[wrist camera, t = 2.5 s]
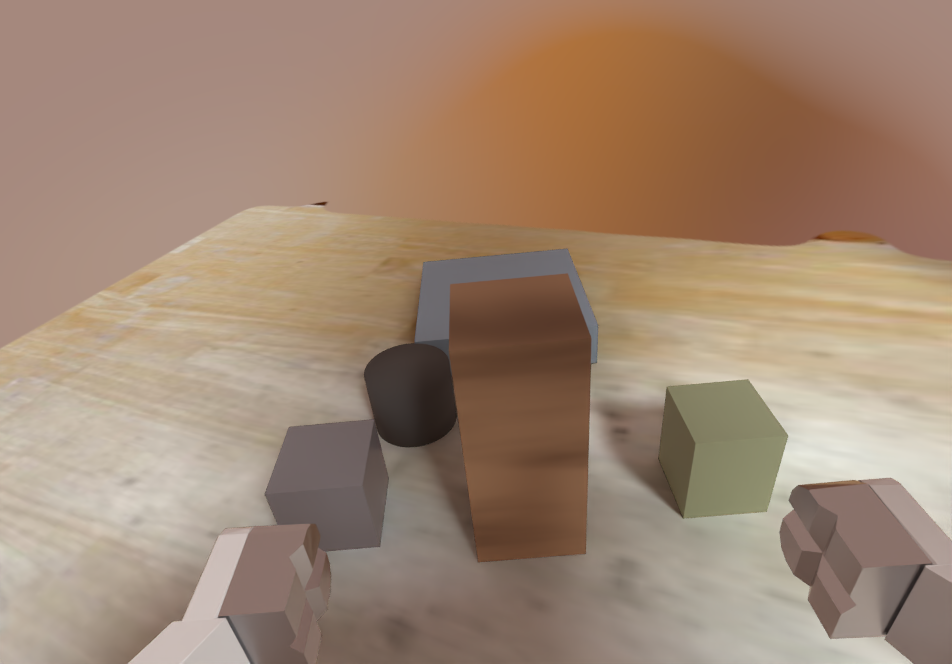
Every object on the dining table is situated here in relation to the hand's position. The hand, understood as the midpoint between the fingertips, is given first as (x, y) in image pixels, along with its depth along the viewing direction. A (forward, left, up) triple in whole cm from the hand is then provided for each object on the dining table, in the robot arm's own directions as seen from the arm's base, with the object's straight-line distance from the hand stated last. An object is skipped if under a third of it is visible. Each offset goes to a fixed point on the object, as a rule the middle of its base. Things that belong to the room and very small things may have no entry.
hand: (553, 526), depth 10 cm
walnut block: (-9, -8, -15) cm, 19 cm away
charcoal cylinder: (-11, -18, -15) cm, 26 cm away
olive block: (-16, -2, -15) cm, 22 cm away
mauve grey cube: (-4, -16, -15) cm, 22 cm away
